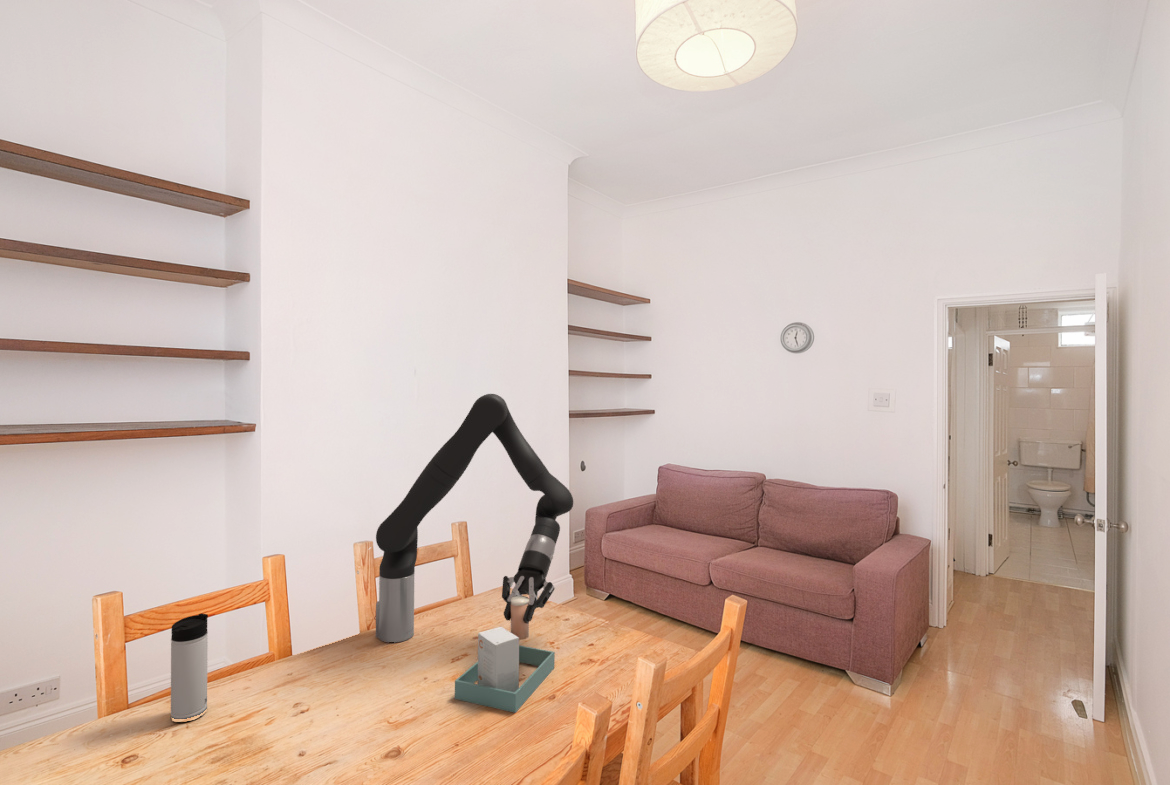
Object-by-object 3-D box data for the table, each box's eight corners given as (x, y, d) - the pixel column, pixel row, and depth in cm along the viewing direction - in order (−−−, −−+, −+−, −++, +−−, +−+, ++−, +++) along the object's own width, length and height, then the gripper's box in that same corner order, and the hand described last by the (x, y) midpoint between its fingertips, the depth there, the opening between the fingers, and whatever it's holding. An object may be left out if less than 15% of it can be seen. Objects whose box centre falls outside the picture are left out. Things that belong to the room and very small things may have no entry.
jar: (507, 638, 139) (507, 601, 139) (515, 631, 144) (515, 595, 143) (523, 641, 138) (524, 603, 138) (531, 633, 142) (532, 597, 142)
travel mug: (215, 709, 122) (216, 615, 122) (185, 726, 116) (185, 627, 116) (194, 703, 124) (195, 611, 124) (163, 720, 118) (163, 623, 118)
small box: (519, 695, 130) (520, 637, 130) (494, 704, 126) (495, 645, 126) (500, 680, 136) (501, 625, 136) (476, 689, 132) (477, 632, 132)
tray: (454, 698, 128) (454, 680, 128) (500, 657, 148) (500, 641, 148) (515, 712, 123) (515, 694, 123) (554, 667, 142) (554, 651, 142)
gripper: (508, 546, 150) (484, 609, 139) (559, 552, 145) (538, 618, 134) (517, 560, 155) (495, 623, 144) (566, 566, 150) (547, 631, 139)
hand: (516, 620), depth 139 cm, fingers closed on jar, 4 cm apart
